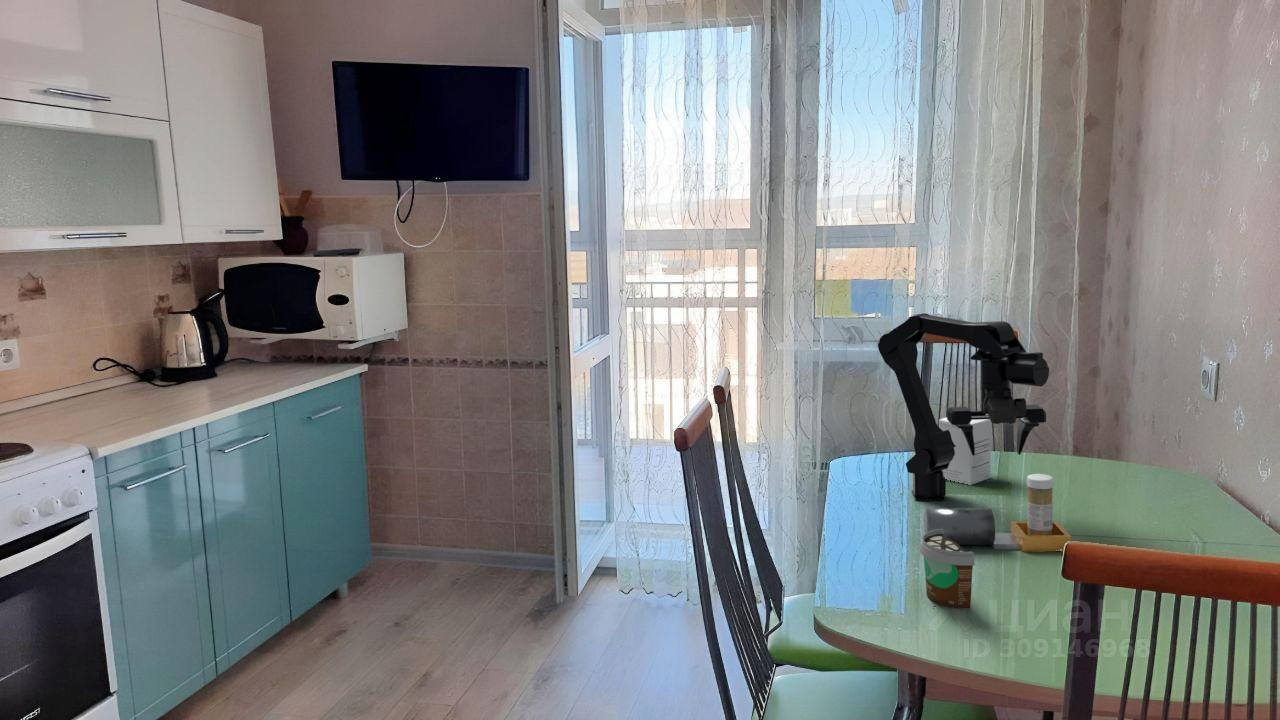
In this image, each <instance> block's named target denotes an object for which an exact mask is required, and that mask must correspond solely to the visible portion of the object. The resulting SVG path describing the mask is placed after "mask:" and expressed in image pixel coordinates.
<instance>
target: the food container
mask: <svg viewBox="0 0 1280 720" xmlns="http://www.w3.org/2000/svg"><path fill="white" fill-rule="evenodd" d="M918 551H919V553H920V554H921V555H922V556H923V563H924V564H923V566H924V577H925V587H926V588H925V589H926V591H925V592H926V597H927V598H928V600H929V601H931V602H932V603H934V604H936V605H939V606H943V607H946V608H953V609H958V610H959V609H961V610H963V609H965V610H966V609H971V605H972V604H971V602H972V601H971V600H972V587H973V586H972V585H973V584H972V583H973V566H975V556H974V551H965V550H964V549H963V548H962V547H961V546H960V544H957V543H956V542H954V541H952V540H950V539H948V538H947V537H946V536H945V535H944V533H943V529H937V530H933V531H929V532H927V533H925V532H924V533H923V536H922V538H921V540H920V543H919V547H918Z"/></svg>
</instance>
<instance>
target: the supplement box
mask: <svg viewBox="0 0 1280 720" xmlns="http://www.w3.org/2000/svg"><path fill="white" fill-rule="evenodd" d="M970 424H971V425H972V426H973V439H974V447H975V455H974V456H973V455H972V454H971V451H970V449H969V446H968V443H967V441H966V438H965V436H964V433H963V432H962V430H961V428H957V426H956V425H952V424H951V423H950V422H949V421H948V420H947V416H946V417H943V418H940V419H938V427H939V428H940V429H942V430H943V431H946V430H949V431H950V433H951V438H952V441H953V443H954V444H955V446H956V447H954V451H955V456H954V457H953V460H952V461H951V462H950V463H949V466H948V469H944V470H942V471H943V476H944V477H945V479H947V480H946V481H950V480H951V481H950V482H954V481H955V483H958V482H959V483H960V484H962V483H964V484H963V485H967V484H968V486H972V485H975V484H977V483H981V482H983V481H985V480H989V479H991V463H992V462H991V460H992V458H991V456H992V455H991V452H992V451H991V449H992V448H991V446H992V439H991V437H992V422H991V421H990V419H979V420H972V421H971V422H970Z"/></svg>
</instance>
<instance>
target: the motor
mask: <svg viewBox="0 0 1280 720" xmlns="http://www.w3.org/2000/svg"><path fill="white" fill-rule="evenodd" d="M993 512H994V511H993V510H992V508H991V507H925V508H924V511H923V531H924V534H925V533H927V532H929V531H933V530H937V529H943V533H944V535H945V536H946V537H947V538H948V539H950V540H952V541H954V542H956V543H957V544H958V545H968V546H969V545H971V546H973V545H978V546H979V545H983V546H985V545H988V546H989V545H990V546H991V547H992V549H994V550H1020V551H1021V552H1022V553H1048V552H1047V551H1056V550H1057V551H1058V550H1059V551H1060V549H1062V551H1061V552H1060V553H1064V552H1063V547H1064V544H1065V543H1066V542H1067V541H1071V542H1072V535H1070V534H1069V533H1068V532H1067V530H1066V529H1065V528H1063V526H1061V524H1060V523H1059V522H1058V521H1052V535H1028V526H1027V521H1013V520H1012V521H1010V533H1004V532H1003V533H1002V532H1001V533H1000V532H999V533H998V532H996V522H995V517H994V513H993ZM1044 551H1046V552H1044Z"/></svg>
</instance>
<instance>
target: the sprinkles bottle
mask: <svg viewBox="0 0 1280 720" xmlns="http://www.w3.org/2000/svg"><path fill="white" fill-rule="evenodd" d="M1026 485H1027V502H1026V503H1027V504H1026V505H1027V506H1026V507H1027V509H1026V510H1027V511H1026V512H1027V518H1026V519H1027V521H1026V522H1027V526H1028V535H1052V522H1053V508H1054V507H1053V505H1054V504H1053V487H1054V478H1053V476H1051V475H1048V474H1043V473H1032V474H1029V475H1027V477H1026Z"/></svg>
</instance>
